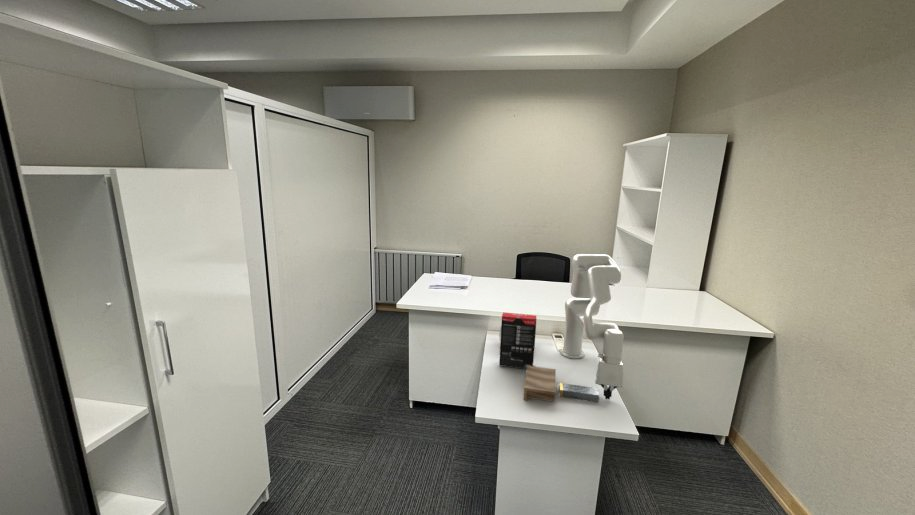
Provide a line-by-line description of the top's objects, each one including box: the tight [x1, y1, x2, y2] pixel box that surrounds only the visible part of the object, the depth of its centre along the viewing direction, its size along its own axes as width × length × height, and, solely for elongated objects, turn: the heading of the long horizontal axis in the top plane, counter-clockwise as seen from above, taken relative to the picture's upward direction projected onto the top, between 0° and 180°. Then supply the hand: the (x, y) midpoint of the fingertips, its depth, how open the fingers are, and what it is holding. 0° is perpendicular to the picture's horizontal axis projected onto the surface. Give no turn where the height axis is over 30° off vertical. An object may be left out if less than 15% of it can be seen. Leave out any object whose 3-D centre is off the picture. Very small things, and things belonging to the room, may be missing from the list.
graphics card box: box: [498, 312, 537, 370], centre depth 187 cm, size 17×7×27 cm, turn 79°
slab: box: [558, 382, 600, 403], centre depth 163 cm, size 16×6×4 cm, turn 77°
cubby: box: [523, 365, 557, 402], centre depth 167 cm, size 20×13×6 cm, turn 165°
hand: (607, 397), depth 161 cm, fingers closed
